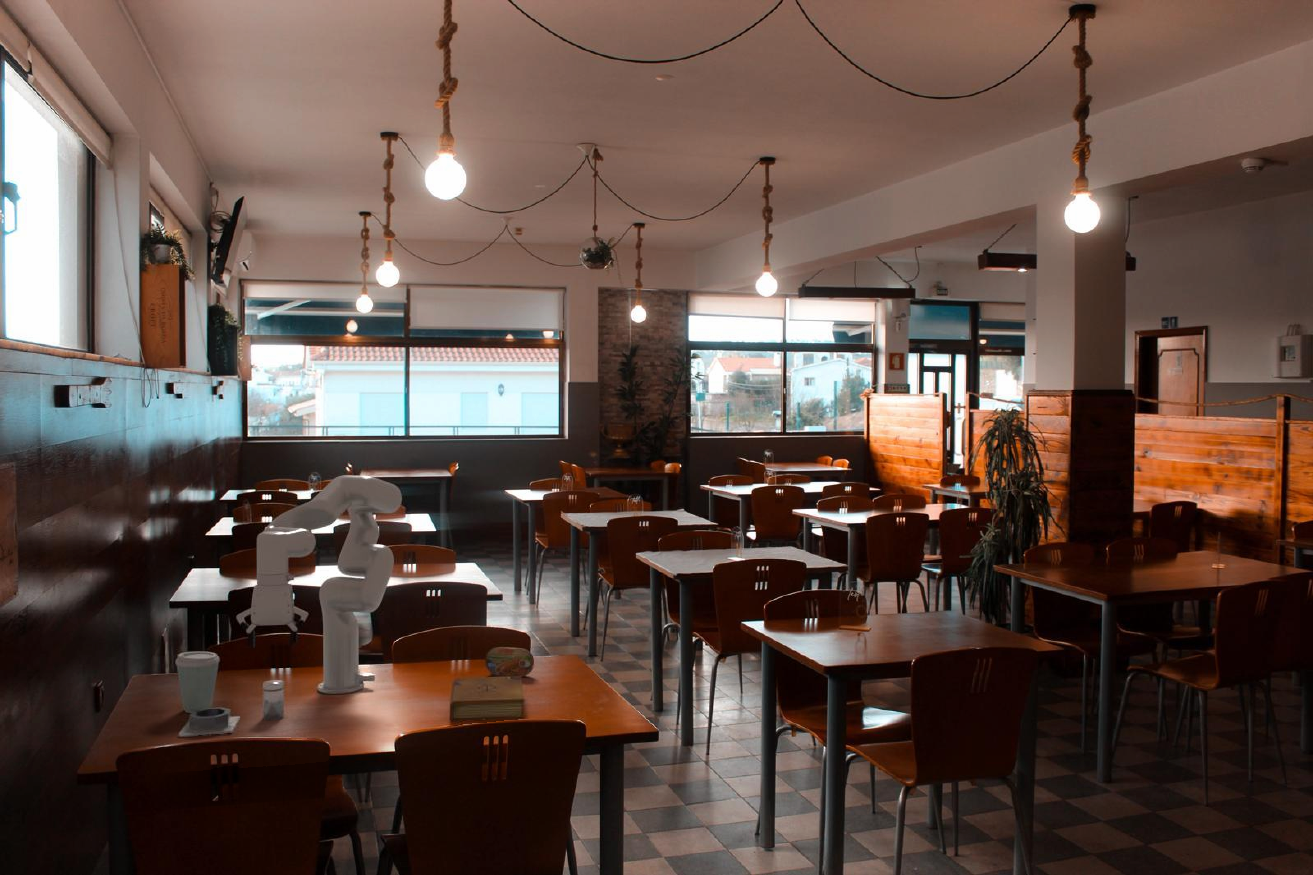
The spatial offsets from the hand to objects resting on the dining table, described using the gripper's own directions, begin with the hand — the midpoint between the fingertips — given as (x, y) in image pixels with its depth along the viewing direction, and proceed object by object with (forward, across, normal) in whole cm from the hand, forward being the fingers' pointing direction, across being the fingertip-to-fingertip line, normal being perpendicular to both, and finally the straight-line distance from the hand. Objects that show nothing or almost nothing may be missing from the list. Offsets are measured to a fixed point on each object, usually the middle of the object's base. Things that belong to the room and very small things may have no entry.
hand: (272, 646), depth 265 cm
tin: (+18, -63, -30) cm, 72 cm away
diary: (+19, -54, +2) cm, 57 cm away
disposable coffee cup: (+18, +20, -11) cm, 29 cm away
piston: (+18, 0, 0) cm, 18 cm away
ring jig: (+18, +14, +6) cm, 24 cm away
